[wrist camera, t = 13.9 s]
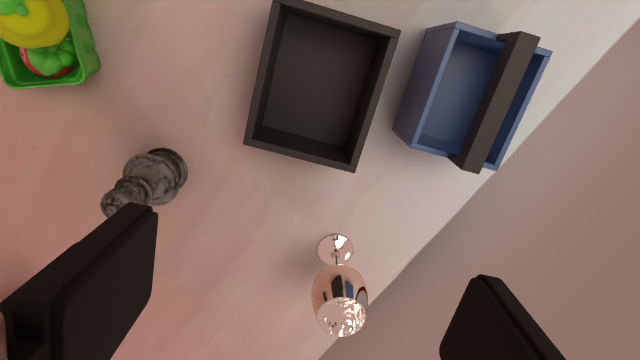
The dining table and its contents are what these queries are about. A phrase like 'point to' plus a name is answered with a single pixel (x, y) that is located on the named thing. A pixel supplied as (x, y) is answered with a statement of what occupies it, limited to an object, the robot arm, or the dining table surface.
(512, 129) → the blue tote
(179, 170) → the grey chess piece
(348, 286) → the wineglass
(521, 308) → the robot arm
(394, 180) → the dining table surface
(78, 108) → the dining table surface
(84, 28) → the fruit basket
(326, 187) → the dining table surface
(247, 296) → the dining table surface
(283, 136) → the black tote
